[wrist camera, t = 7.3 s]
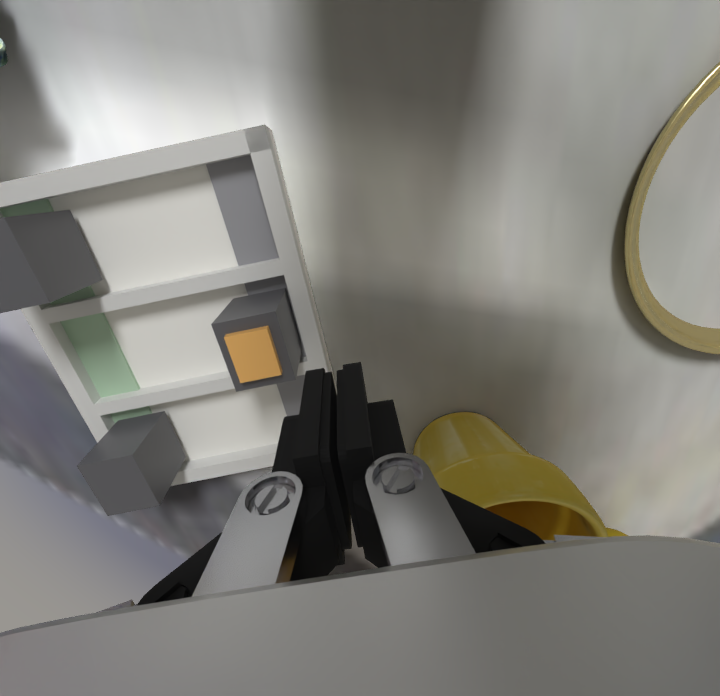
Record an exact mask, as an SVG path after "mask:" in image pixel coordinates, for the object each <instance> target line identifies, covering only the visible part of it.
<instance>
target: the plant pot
mask: <svg viewBox="0 0 720 696" xmlns="http://www.w3.org/2000/svg"><path fill="white" fill-rule="evenodd" d="M413 455H415V456H417V457H419V458H421V459H422V460H424V462H425V463H426V464H427V465H428V466H429V468H430V470H431V472H432V474H433V476H434V477H435V479H436V481H437V483H438V485H439V487H440V488H442V489H444V490H446V491H448V492H450V493H453V494H455V495H457V496H459V497H461V498H463V499H465V500H467V501H469V502H472V503H474V504H476V505H478V506H480V507H482V508H484V509H486V510H488V511H491V512H493V513H495V514H497V515H499V516H501V517H503V518H505V519H507V520H510V521H512V522H514V523H516V524H518V525H520V526H522V527H524V528H526V529H528V530H530V531H531V532H533V533H535V534H536V535H538V536H539V537H540V538H541V539H542V540H553V541H554V535H571V536H590V537H608V533H607V530H606V528H605V526H604V524H603V522H602V520H601V519H600V517H599V516H598V514H597V513H596V512H595V510H594V509H593V507H592V506H591V505H590V503H589V502H588V501H587V499H586V498H585V497H584V495H583V494H582V493H581V492H580V490H579V489H578V488H577V487H576V486H575V484H574V483H573V482H572V481H571V480H570V479H569V478H568V476H567V475H566V474H565V473H564V472H563V471H562V470H560V469H559V468H558V467H556V466H555V465H554V464H552V463H550V462H548V461H546V460H544V459H542V458H539V457H537V456H534V455H530V454H529V453H528V452H527V451H526V450H525V449H524V448H523V447H521V446H520V445H519V444H518V443H517V442H516V441H515V440H513V439H512V438H511V437H510V436H509V435H508V434H507V433H506V432H505V431H503V430H502V429H501V428H500V427H499V426H498V425H497V424H496V423H495V422H493V421H492V420H490V419H489V418H487V417H485V416H483V415H480V414H477V413H472V412H457V413H452V414H448V415H445V416H442V417H440V418H438V419H436V420H434V421H433V422H431V423H430V424H429V425H428V426H427V427H426V428H425V429H424V430H423V431H422V432H421V434H420V435H419V437H418V439H417V441H416V443H415V446H414V453H413Z"/></svg>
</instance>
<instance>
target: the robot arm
mask: <svg viewBox="0 0 720 696" xmlns="http://www.w3.org/2000/svg"><path fill="white" fill-rule="evenodd" d="M351 518H352V523H353V527H354V532H355V536H356V541H357V545H358V547H363V549H364V553H365V558H366V559H367V560H368V561H370V562H371V563H373V564H374V565H375V566H377V567H378V568H374V569H368V570H361V571H355V572H348V573H342V574H335V575H329V576H328V574H329V573H330V572H331V571H332V569H333V568H334V567H335V566H336V565H342V564H345V557H344V549H351V548H352V537H351ZM0 696H720V544H719V543H713V542H707V541H701V540H695V539H689V538H678V537H664V536H649V535H646V536H612V537H590V536H571V535H554V541H553V540H542V539H541V538H540V537H539V536H538V535H536V534H535V533H533V532H531V531H530V530H528V529H526V528H524V527H522V526H520V525H518V524H516V523H514V522H512V521H510V520H507V519H505V518H503V517H501V516H499V515H497V514H495V513H493V512H491V511H488V510H486V509H484V508H482V507H480V506H478V505H476V504H474V503H472V502H469V501H467V500H465V499H463V498H461V497H459V496H457V495H455V494H453V493H450V492H448V491H446V490H444V489H442V488H440V487H439V485H438V483H437V481H436V479H435V477H434V476H433V474H432V472H431V470H430V468H429V466H428V465H427V464H426V463H425V462H424V460H422V459H421V458H419V457H417V456H415V455H412V454H408V453H406V451H405V447H404V443H403V439H402V435H401V431H400V426H399V422H398V418H397V414H396V410H395V406H394V402H393V400H386V401H380V402H374V403H368V402H367V396H366V390H365V384H364V378H363V372H362V366H361V362H358V363H352V364H346V365H343V370H338V371H337V394H336V389H335V384H334V379H333V375H332V372H325V369H324V368H321V369H314V370H308V371H306V372H305V379H304V385H303V392H302V398H301V405H300V411H299V414H298V415H292V416H286V417H284V419H283V423H282V427H281V432H280V437H279V441H278V446H277V451H276V456H275V460H274V465H273V470H272V473H268V474H266V475H263V476H261V477H259V478H257V479H256V480H254V481H252V482H251V483H250V484H249V485H248V486H247V487H246V488H245V489H244V490H243V492H242V493H241V495H240V497H239V499H238V501H237V503H236V505H235V507H234V509H233V511H232V513H231V515H230V518H229V520H228V522H227V524H226V526H225V528H224V530H223V532H222V533H220V534H219V535H218V536H217V537H215V538H214V539H213V540H212V541H210V542H209V543H208V544H206V545H205V546H204V547H203V548H201V549H200V550H199V551H198V552H196V553H195V554H194V555H193V556H191V557H190V558H189V559H188V560H186V561H185V562H184V563H183V564H181V565H180V566H179V567H178V568H176V569H175V570H174V571H173V572H171V573H170V574H169V575H168V576H166V577H165V578H164V579H162V580H161V581H160V582H159V583H158V584H156V585H155V586H154V587H153V588H152V589H151V590H150V591H148V592H147V593H146V594H145V595H144V596H143V598H142V599H141V600H140V602H139V603H138V604H136V605H135V604H134V602H133V601H132V600H129V601H127V602H124V603H122V604H118V605H116V606H113V607H110V608H108V609H105V610H102V611H99V612H96V613H92V614H87V615H80V616H75V617H69V618H64V619H59V620H54V621H50V622H44V623H39V624H35V625H30V626H25V627H20V628H16V629H13V630H9V631H5V632H2V633H0Z"/></svg>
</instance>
